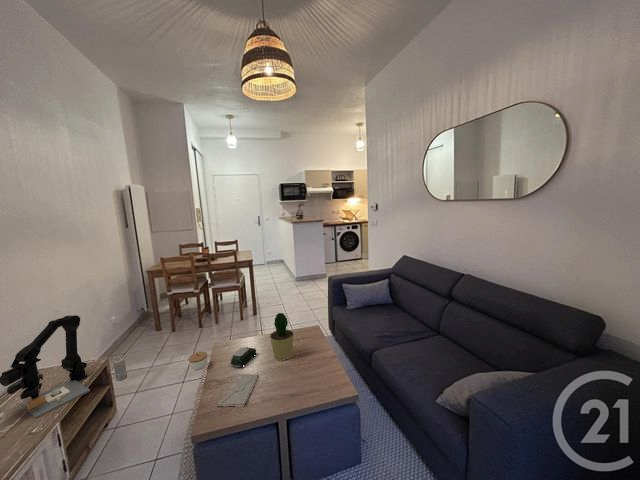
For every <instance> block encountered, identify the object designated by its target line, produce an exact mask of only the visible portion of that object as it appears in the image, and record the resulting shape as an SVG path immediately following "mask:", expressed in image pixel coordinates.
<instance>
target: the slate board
mask: <svg viewBox="0 0 640 480" xmlns="http://www.w3.org/2000/svg"><path fill="white" fill-rule="evenodd" d="M61 387H65V388H67V389H68V390H69V391H70V394H68V395H66V396H63V397H61V398H60V397H58V398H57V400H55V401H53V402H51V403H49V404H48V403H47V402H44V403H42V404H40V405H38V406H36V407H34V408H32V409H30V410H28V409H27V405H26V402H28V401H31V400H33V399H32V398H31V397H30V398H29V399H27V400H25V401H23V402H20V403H21V405H22V407H24V409H26V410H27V412H28V413H29V414H30V415H31V416H32V417H33V418H34V419H35V420H36V419H38V418H40V417H43V416H45V415H47V414H48V412H49V413H50V412H53V411H54V410H57V409H58V408H60V407H62V406H64V405H67V404H68V403H70V402H72V401H75V399H78V398H80V397H82V396H83V395H86V394H88V393H90V392H91V389H90V388H88V387H87V386H86V385H84V384H82V383H81V382H80V381H76V380H73V381H70V380H68V381H66V382H64V383H62V384H60V385H57V386H56V387H53V388H52V389H49V390H47V391H44V392H42V393H39V395H38V397H39V396H41V395H46V394H48V393H51V392H52V396H51V397H54V396H56V395H59V394H61V392H60V390H59V388H61ZM46 413H47V414H46Z"/></svg>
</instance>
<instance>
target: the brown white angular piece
mask: <svg viewBox="0 0 640 480" xmlns="http://www.w3.org/2000/svg"><path fill="white" fill-rule="evenodd" d="M59 390H60V392H61V394H59V395H56V396H54V397H51V396H52V392H51V393H48V394H46V395H41V396H39V397H37V398H35V399H33V400H31V401H28V402H26V405H27V409H28V410H30V409H32V408H34V407H36V406H38V405H40V404H42V403H44V402H47V403H48V404H49V403H51V402H53V401H55V400H57V398H58V397H60V398H61V397H63V396H66V395H68V394H70V391H69V390H68V389H67V388H65V387H61V388H59Z"/></svg>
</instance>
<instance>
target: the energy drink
mask: <svg viewBox="0 0 640 480" xmlns="http://www.w3.org/2000/svg"><path fill="white" fill-rule="evenodd" d="M113 368H114V374H115V380H116V382H123V381H124V380H126V379H127V378H128V372H127V366H126V360H125V358H124V357H119V358H116V359H114V360H113Z"/></svg>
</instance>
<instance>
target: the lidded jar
mask: <svg viewBox="0 0 640 480" xmlns="http://www.w3.org/2000/svg"><path fill="white" fill-rule="evenodd" d="M187 360H188V364H189V367H190V368H191V369H193V370H194V371H201V370H203V369H204V368H205V366H206V364H207V363H208V353H207V352H206V351H197V352H194V353H192V354H191V355H190V356H189V357H188V359H187Z"/></svg>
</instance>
